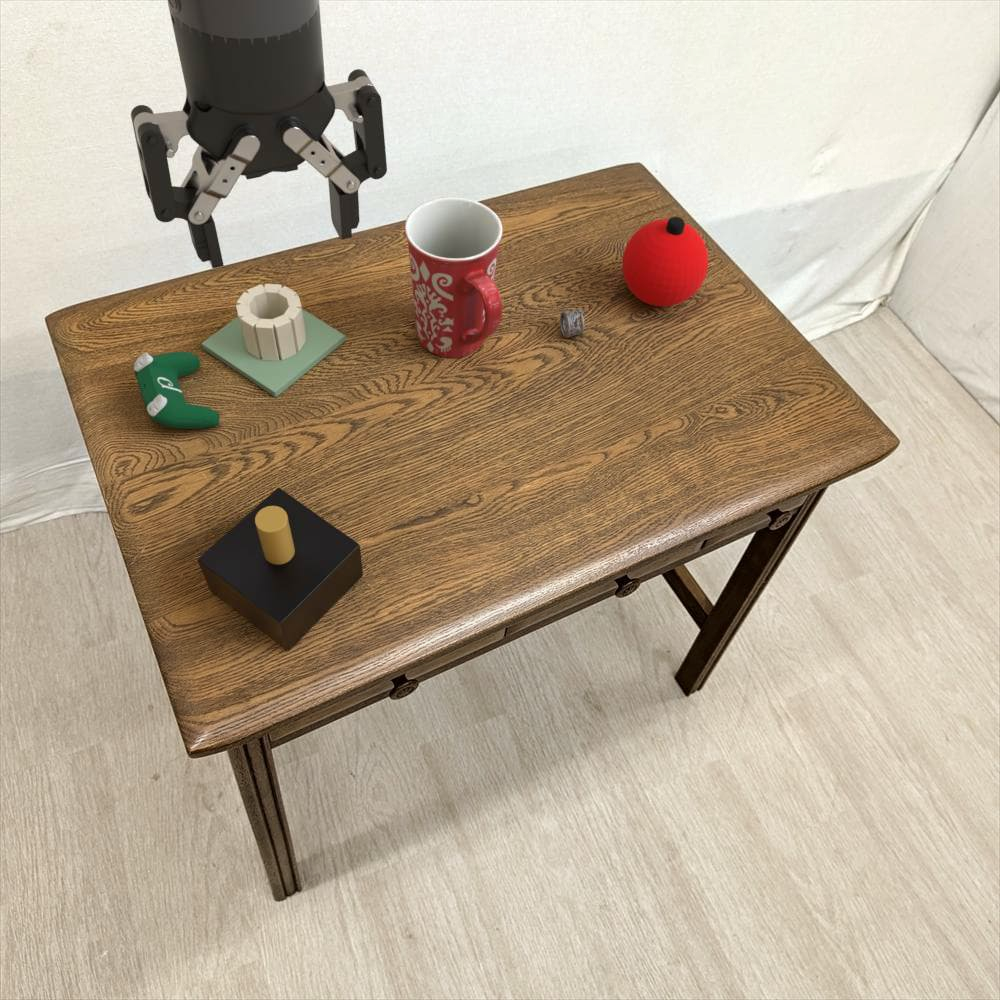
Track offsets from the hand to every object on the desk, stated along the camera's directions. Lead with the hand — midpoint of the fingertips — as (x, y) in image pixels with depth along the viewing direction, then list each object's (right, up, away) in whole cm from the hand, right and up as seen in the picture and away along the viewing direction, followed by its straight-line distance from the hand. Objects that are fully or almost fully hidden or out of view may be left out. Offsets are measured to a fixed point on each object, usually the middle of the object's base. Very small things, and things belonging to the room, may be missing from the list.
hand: (279, 245), depth 59 cm
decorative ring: (+22, +1, +36) cm, 42 cm away
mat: (-8, -1, +32) cm, 33 cm away
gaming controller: (-16, -8, +27) cm, 32 cm away
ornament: (+32, +6, +40) cm, 51 cm away
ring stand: (-3, -24, +17) cm, 29 cm away
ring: (-8, -1, +31) cm, 32 cm away
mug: (+10, -1, +34) cm, 35 cm away
